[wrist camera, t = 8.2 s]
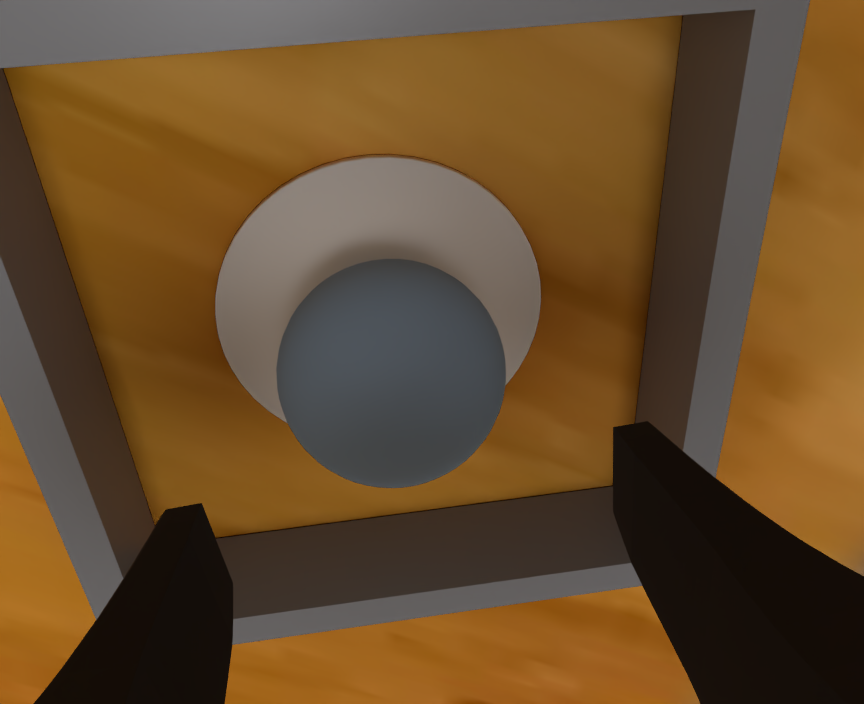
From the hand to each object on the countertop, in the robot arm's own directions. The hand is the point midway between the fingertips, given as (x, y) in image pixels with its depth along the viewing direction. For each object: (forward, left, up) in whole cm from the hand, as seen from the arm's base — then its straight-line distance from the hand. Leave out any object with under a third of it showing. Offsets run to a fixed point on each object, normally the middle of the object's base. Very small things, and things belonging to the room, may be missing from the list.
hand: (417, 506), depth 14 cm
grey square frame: (0, 0, -7) cm, 7 cm away
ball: (0, 0, -4) cm, 4 cm away
